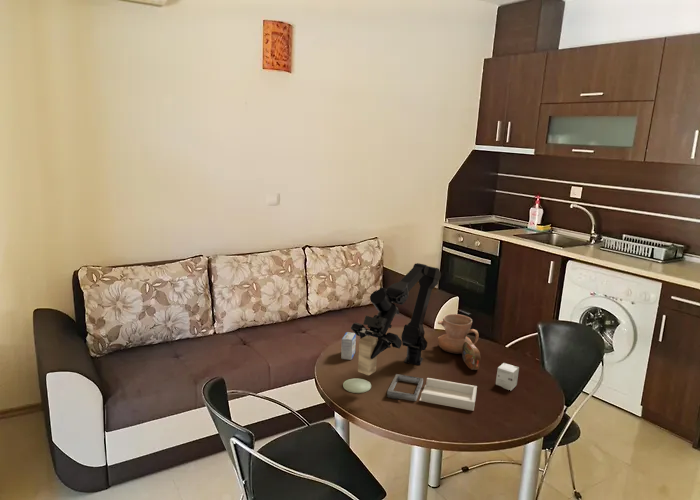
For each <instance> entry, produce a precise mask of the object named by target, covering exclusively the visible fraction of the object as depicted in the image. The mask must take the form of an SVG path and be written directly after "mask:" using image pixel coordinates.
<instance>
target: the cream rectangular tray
mask: <svg viewBox="0 0 700 500" xmlns="http://www.w3.org/2000/svg"><path fill="white" fill-rule="evenodd" d="M425 383H426V384H424V387H423V389H422V391H421V394H420V398H419V402H425V403H429V404H434V405H441V406H446V407H451V408H457V409H462V410H467V411H473V412H474V411H475V406H476V405H475V404H476V398H477V391H478V390H477V388H478V386H477V385H473V384H472V385H471V384H466V383H460V382H454V381H449V380H443V379H437V378H431V377H427V378H426V382H425Z"/></svg>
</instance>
